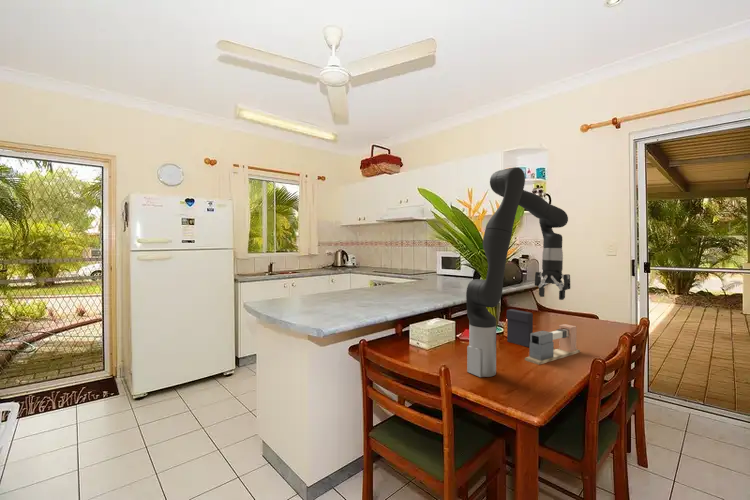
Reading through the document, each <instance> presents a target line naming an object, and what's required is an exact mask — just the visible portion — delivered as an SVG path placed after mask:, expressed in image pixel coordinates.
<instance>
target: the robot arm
mask: <svg viewBox="0 0 750 500" xmlns="http://www.w3.org/2000/svg"><path fill="white" fill-rule="evenodd" d="M525 185H526V176H525V172H524V170H523V169H522V168H520V167H516V166H515V167H514V166H513V167H510V168H504V169H501V170H497V171H495V172H493V173H492V174H491V176H490V178H489V186H490V189H491V190H492V192H493V193H495V194H496V195H498V196H499V197H502V199H501V200H502V201H501V203H500V204H499V206H498V208H497V209H496V210H495V212H494V213H493V214H492V216H491V217H490V219H489V220H488V222H487V223H486V225H485V229H484V233H483V238H482V248H483V251H484V254H485V257H486V260H487V273H486V277H485V279H481V278H476V279H475V278H474V279H472V280H470V281H469V283H468V284H467V287H466V293H465V296H466V297H465V299H466V300H465V301H466V315H467V318H468V320H469V323H468V325H469V327H468V328H469V330H468V336H469V337H468V338H469V341H468V342H469V343H468V345H467V347H466V351H467V352H466V355H467V356H466V357H467V358H466V362H467V363H466V367H467V369H466V372H467V373H469V374H472V375H474V376H477V377H478V378H485V377H487V378H489V377H490V378H491V377H493V376H496V374H497V318H496V316H495V315H493V314H492V313H491V312H490V311H489V310H488V308H495V307H497V306H498V304H499V303H500V301H501V298H502V294H503V289H504V278H505V270H506V268H505V267H506V262H507V259H508V252H509V248H510V244H511V240H512V236H513V235H512V234H513V230H514V224H515V219H516V216H517V212H518V208H519V206H520V207H521V208H523V209H524V210H526V211H527V212H529V213H530V214H531V215H533V217H535V218H537V219H538V220H539V226H540V230H541V233H542V239H543V240H542V241H543V242H542V245H543V247H542V255H541V256H542V259H541V260H542V261H541V263H542V264H541V266H542V267H541V269H542V271H535V276H534V286H535V287H538V296H539V297H540V298H543V297H544V298H545V291H546V289H545V287H546V285H548V284H551V285H555V286H557V287H558V300H560V301H564V300H565V299H566V291H568V290H571V275H570V274H563V263H564V262H563V261H564V260H563V259H564V257H563V256H564V255H563V254H564V252H563V236H562V234H560V233H557V232H554V230H553V228H555V229H558V228H563V227H565V226H566V225H567V224H568V222H569V216H568V214H567V212H566V211H565V210H563V209H562V208H560V207H558V206H556V205H553V204H550V203H549V202H547V201H546V200H545V199H544V198H543V197H541V196H540V195H538V194H535V193H534V192H530V191H527V190H526V189H525V190H524V188H525Z"/></svg>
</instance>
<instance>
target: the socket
mask: <svg viewBox="0 0 750 500" xmlns="http://www.w3.org/2000/svg"><path fill="white" fill-rule="evenodd" d="M565 328H566V329H569V336H567V337H566V338H559V339H558V348H559V349H561V350H565V351H569V352H573V351H576V349H577V326H576V325H572V324H567V323H564V324H559V326H558V329H565Z"/></svg>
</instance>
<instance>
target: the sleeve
mask: <svg viewBox="0 0 750 500" xmlns="http://www.w3.org/2000/svg"><path fill="white" fill-rule="evenodd" d="M551 332H552V331H546V330H540V331H535V332H534V331H533V333H530V345H529V347H528V348H529V356H528V357H530V358H534V359H537V360H540V361H542V360H546V359H549V358H552V357H553V354H554V350H555V348H554V343H555V342H554V340H553V333H551Z"/></svg>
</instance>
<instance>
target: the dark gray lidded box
mask: <svg viewBox="0 0 750 500" xmlns="http://www.w3.org/2000/svg"><path fill="white" fill-rule="evenodd" d="M533 317H534V314H533V312H530V311H524V310H519V309H513V308H511V309H507V310H506V320H507V323H506V324H507V326H506V327H507V331H506V332H507V334H506V335H507V337H506V338H507V343H512V344H515V345H519V346H523V347H527V348H529V345H530V333H534V331H533V330H534V329H533V328H534V323H533V321H534V319H533Z"/></svg>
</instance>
